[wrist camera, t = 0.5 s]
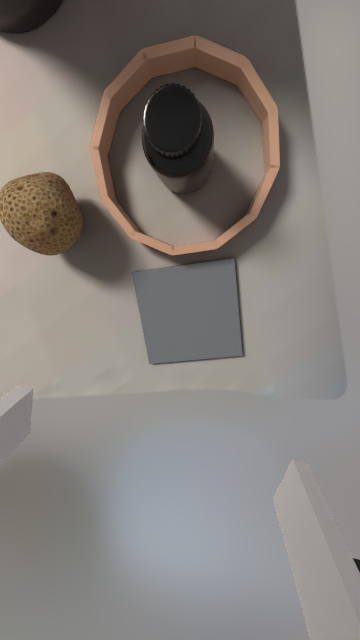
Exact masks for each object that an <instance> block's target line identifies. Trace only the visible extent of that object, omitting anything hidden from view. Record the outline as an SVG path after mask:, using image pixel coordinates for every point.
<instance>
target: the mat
mask: <svg viewBox="0 0 360 640" xmlns="http://www.w3.org/2000/svg"><path fill="white" fill-rule="evenodd" d="M132 274H133V280H134V285H135V290H136V295H137V301H138V306H139V311H140V316H141V322H142V327H143V332H144V337H145V343H146V348H147V353H148V359H149V364H156V363H167V362H178V361H189V360H200V359H211V358H222V357H233V356H242V344H241V332H240V320H239V308H238V296H237V284H236V272H235V260H234V258H229V259H222V260H215V261H208V262H201V263H194V264H186V265H179V266H172V267H165V268H158V269H151V270H144V271H136V272H132Z"/></svg>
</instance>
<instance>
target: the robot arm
mask: <svg viewBox="0 0 360 640" xmlns="http://www.w3.org/2000/svg"><path fill="white" fill-rule="evenodd" d="M61 1H62V0H0V31H4V32H10V33H19V32H25V31H29V30H32V29H34V28H36V27H38V26H39V25H41V24H42V23H44V22H45V21H46V20H47V19H48V18H49V17H50V16H51V15H52V14H53V13H54V12H55V10H56V9H57V8H58V6H59V4H60V3H61ZM32 397H33V388H29V387H25V386H22V385H17V386H16V387H14V388H13V389H12V390H11V391H9V392H8V393H7V394H5V395H4V396H3V397H1V398H0V465H1V464H2V463H3V462H4V460H5V459H6V458H7V457H8V456H9V455H10V454H11V453H12V452H13V451H14V449H15V448H16V447H17V446H18V445H19V444H20V443H21V442H22V441H23V440H24V439H25V437H26V436H27V435H28V434H29V433H30V425H31V411H32ZM273 501H274V505H275V509H276V513H277V516H278V520H279V524H280V528H281V531H282V535H283V539H284V543H285V547H286V550H287V554H288V558H289V562H290V565H291V569H292V573H293V577H294V581H295V584H296V588H297V592H298V595H299V599H300V603H301V607H302V611H303V615H304V618H305V622H306V626H307V629H308V633H309V637H310V640H360V560H358V559H354V558H352V556H351V553H350V551H349V549H348V547H347V545H346V543H345V541H344V539H343V536H342V534H341V532H340V530H339V528H338V526H337V524H336V521H335V519H334V517H333V515H332V513H331V511H330V508H329V506H328V504H327V502H326V500H325V498H324V496H323V494H322V492H321V489H320V487H319V485H318V483H317V481H316V479H315V476H314V474H313V472H312V470H311V468H310V466H309V464H308V462H304V461H300V460H297V459H292V461H291V463H290V465H289V467H288V469H287V471H286V473H285V475H284V477H283V479H282V481H281V483H280V485H279V487H278V489H277V491H276V493H275V495H274V497H273Z"/></svg>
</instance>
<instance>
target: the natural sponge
mask: <svg viewBox="0 0 360 640" xmlns="http://www.w3.org/2000/svg"><path fill="white" fill-rule="evenodd" d="M0 220H1V222H2V224H3V226H4V227H5V229H6V230H7V232H8V233H9V234H10V236H11V237H12V238H13V239H14V240H16V241H17V242H18V243H20V244H21V245H23V246H25V247H26V248H28V249H30V250H32V251H34V252H37V253H40V254H44V255H57V254H60V253H63V252H65V251H66V250H68V249H70V248H71V247H72V246H73V245H74V244H75V243H76V241H77V240H78V238H79V236H80V234H81V232H82V229H83V219H82V214H81V211H80V209H79V206H78V204H77V202H76V200H75V198H74V196H73V193H72V191H71V189H70V187H69V185H68V184H67V183H66V182H65V180H64V179H63V178H62V177H60V176H59V175H57V174H54V173H50V172H42V173H36V174H31V175H27V176H23V177H19V178H16V179H14V180H11V181H9V182H8V183H7V184H6V185H5V186H4V187H3V188H2V190H1V191H0Z"/></svg>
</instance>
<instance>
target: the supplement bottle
mask: <svg viewBox="0 0 360 640" xmlns="http://www.w3.org/2000/svg"><path fill="white" fill-rule="evenodd" d="M143 114H144V116H143V122H144V123H143V130H142V145H143V150H144V153H145V156H146V158H147V160H148V162H149V164H150V165H151V167H152V168H153V169H154V171H155V172H156V174H157V175H158V176H159V178H160V179H161V181H162V182H163V183H164V184H165V186H166V187H167V188H169V189H170V190H171V191H173V192H175V193H178V194H190V193H193V192H195V191H197V190H199V189H200V188H201V187H203V185H204V184H205V183H206V182H207V180H208V179H209V177H210V174H211V171H212V166H213V147H214V131H213V125H212V121H211V118H210V116H209V114H208V112H207V110H206V109H205V107H204V106H203V105H202V104H201V103H200V102H199V101H198V100H197V99H196V98H195V95H194V94H193V93H191V91H190V89H187V88H186V87H185V86H181V85H180V84H174V83H172V84H166V85H165V86H161V87H160V88H159V89H156V90H155V92H154V93H152V94H151V97H150V98H149V99H148V101H147V104H146V105H145V110H144V112H143Z"/></svg>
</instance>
